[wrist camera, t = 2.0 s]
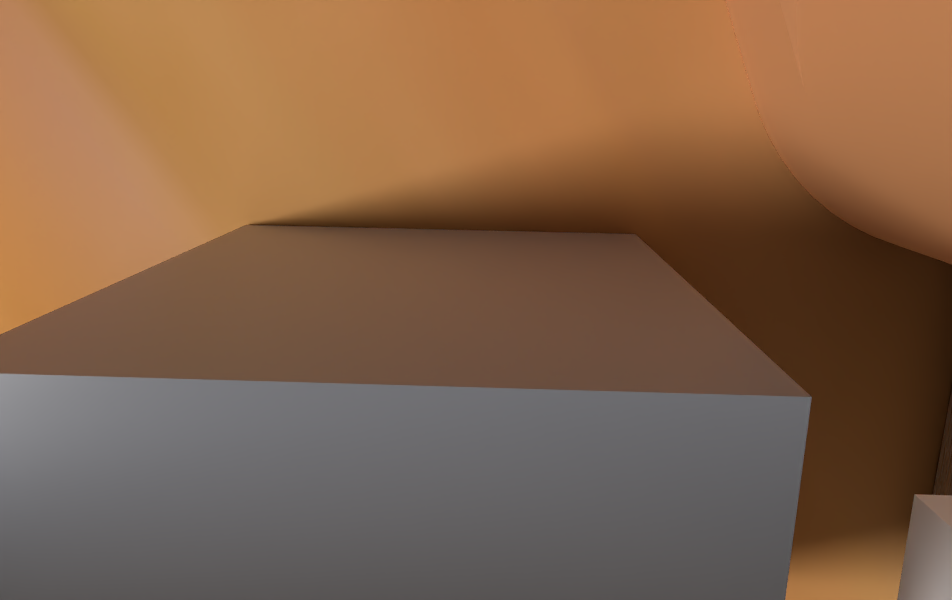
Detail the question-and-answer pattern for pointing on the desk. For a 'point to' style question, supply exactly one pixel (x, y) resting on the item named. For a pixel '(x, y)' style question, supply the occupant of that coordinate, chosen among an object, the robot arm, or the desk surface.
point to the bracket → (859, 108)
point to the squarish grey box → (397, 427)
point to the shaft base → (945, 459)
